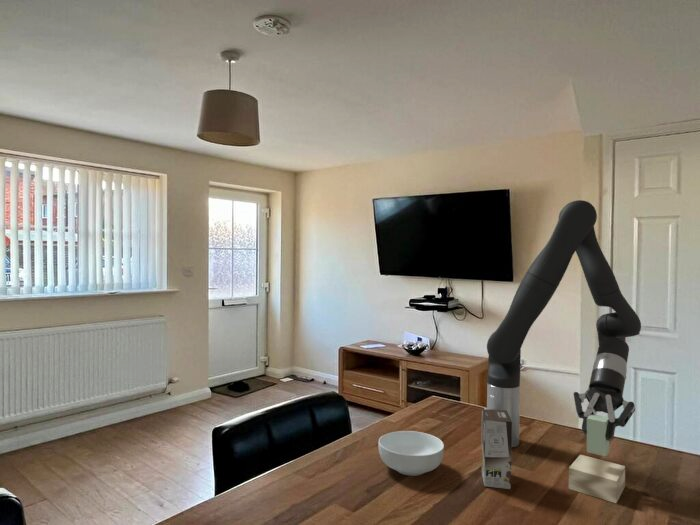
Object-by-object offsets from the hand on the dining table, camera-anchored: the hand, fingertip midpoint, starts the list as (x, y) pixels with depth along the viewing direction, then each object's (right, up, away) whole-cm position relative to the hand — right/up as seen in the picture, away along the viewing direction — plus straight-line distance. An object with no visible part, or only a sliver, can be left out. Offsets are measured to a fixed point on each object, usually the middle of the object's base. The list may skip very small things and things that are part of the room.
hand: (596, 436), depth 109 cm
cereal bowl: (-43, -13, +11) cm, 46 cm away
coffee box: (-22, -13, +5) cm, 26 cm away
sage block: (+1, -4, +1) cm, 4 cm away
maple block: (+1, -13, +1) cm, 13 cm away
